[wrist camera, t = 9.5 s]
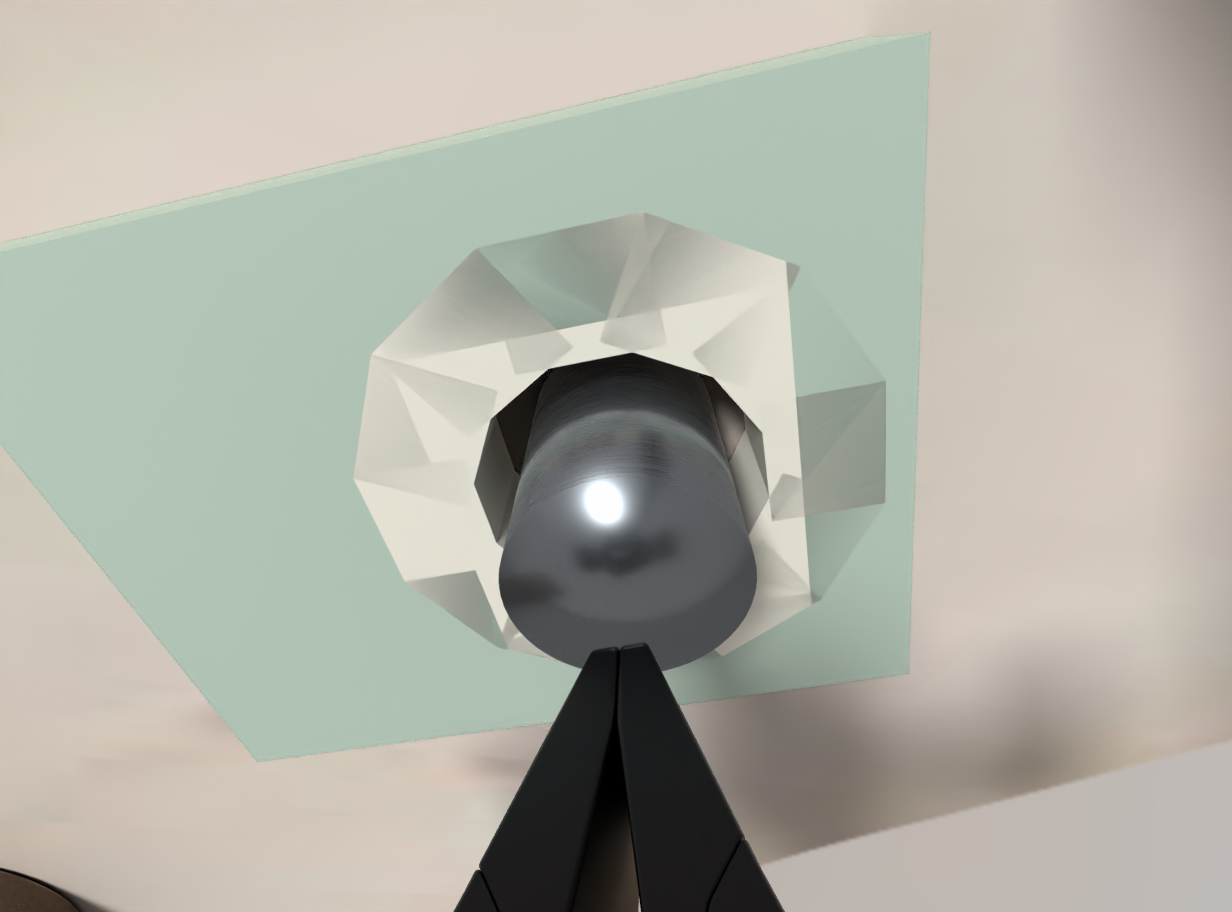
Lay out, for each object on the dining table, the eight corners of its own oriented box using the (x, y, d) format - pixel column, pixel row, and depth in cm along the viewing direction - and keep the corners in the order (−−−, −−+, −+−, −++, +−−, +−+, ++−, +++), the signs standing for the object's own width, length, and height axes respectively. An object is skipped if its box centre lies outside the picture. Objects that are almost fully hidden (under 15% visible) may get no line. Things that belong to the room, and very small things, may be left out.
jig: (863, 37, 12) (930, 32, 10) (869, 591, 19) (908, 673, 17) (6, 241, 14) (-130, 282, 11) (300, 676, 21) (256, 762, 19)
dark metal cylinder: (699, 320, 15) (742, 457, 10) (722, 478, 17) (768, 656, 12) (513, 357, 15) (463, 506, 10) (560, 506, 18) (537, 689, 13)
